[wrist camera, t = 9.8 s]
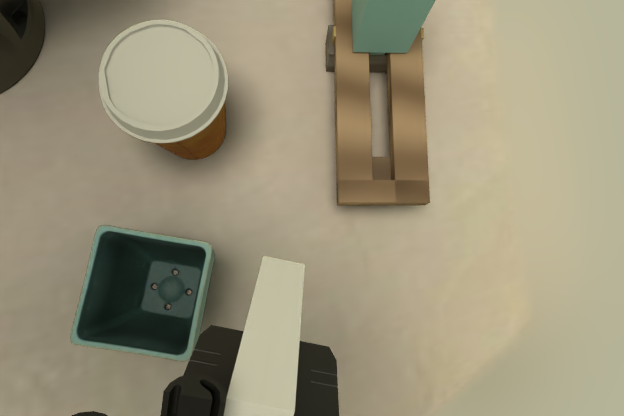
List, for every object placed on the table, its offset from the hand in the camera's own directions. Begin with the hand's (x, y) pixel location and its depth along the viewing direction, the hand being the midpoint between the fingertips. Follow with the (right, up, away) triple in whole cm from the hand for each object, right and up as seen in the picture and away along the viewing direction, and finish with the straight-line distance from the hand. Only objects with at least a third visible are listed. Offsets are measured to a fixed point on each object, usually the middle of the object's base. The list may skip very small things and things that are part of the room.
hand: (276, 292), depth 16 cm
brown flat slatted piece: (+7, +19, +30) cm, 36 cm away
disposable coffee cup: (-10, +11, +28) cm, 32 cm away
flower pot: (-12, -5, +25) cm, 28 cm away
